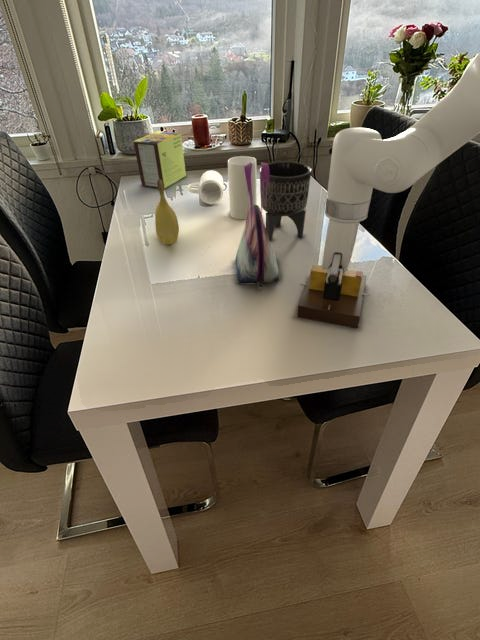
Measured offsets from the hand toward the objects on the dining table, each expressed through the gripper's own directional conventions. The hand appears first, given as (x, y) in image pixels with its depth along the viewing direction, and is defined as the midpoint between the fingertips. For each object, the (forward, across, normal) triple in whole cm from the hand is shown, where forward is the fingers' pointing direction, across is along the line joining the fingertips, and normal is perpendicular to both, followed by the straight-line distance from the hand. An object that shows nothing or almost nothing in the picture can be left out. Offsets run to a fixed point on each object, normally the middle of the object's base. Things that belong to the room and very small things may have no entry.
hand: (334, 286), depth 77 cm
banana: (+4, -15, -47) cm, 50 cm away
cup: (+4, -38, -33) cm, 50 cm away
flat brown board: (+4, 0, 0) cm, 4 cm away
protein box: (+4, -59, -72) cm, 93 cm away
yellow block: (+1, 0, 0) cm, 1 cm away
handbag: (+4, -7, -19) cm, 21 cm away
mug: (+4, -46, -49) cm, 67 cm away
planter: (+4, -28, -18) cm, 34 cm away
